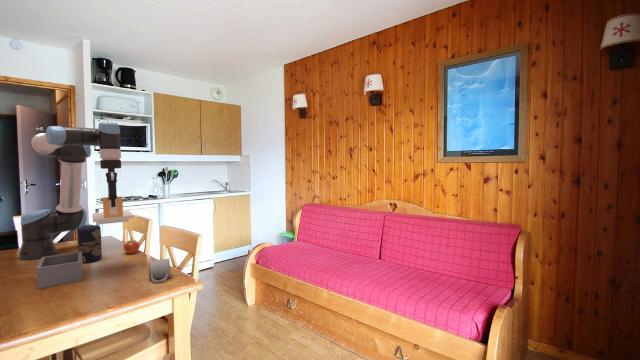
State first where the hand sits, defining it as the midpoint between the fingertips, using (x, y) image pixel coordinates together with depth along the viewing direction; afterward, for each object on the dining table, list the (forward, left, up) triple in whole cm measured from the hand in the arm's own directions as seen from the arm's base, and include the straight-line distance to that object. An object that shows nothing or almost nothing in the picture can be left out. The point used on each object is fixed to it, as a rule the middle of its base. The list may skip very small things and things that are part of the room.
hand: (113, 213), depth 140 cm
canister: (-30, -9, -27) cm, 41 cm away
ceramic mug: (+18, +15, -27) cm, 35 cm away
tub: (-8, -19, -26) cm, 33 cm away
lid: (-8, 0, -4) cm, 9 cm away
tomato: (-32, +9, -27) cm, 43 cm away
